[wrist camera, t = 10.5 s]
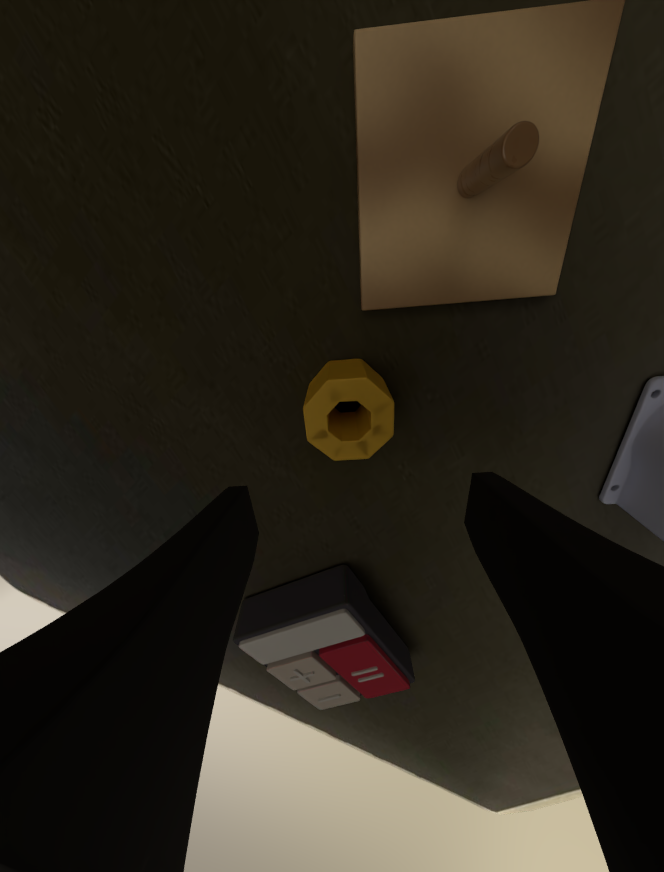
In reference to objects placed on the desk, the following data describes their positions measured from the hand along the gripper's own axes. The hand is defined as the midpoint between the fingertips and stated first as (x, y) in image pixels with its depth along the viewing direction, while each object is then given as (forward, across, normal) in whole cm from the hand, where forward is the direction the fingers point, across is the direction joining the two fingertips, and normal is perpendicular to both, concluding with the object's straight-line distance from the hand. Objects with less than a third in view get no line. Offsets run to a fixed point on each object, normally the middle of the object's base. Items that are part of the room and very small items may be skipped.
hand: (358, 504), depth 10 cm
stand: (+10, -6, -10) cm, 16 cm away
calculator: (+11, +3, +24) cm, 26 cm away
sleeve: (+10, 0, 0) cm, 10 cm away
